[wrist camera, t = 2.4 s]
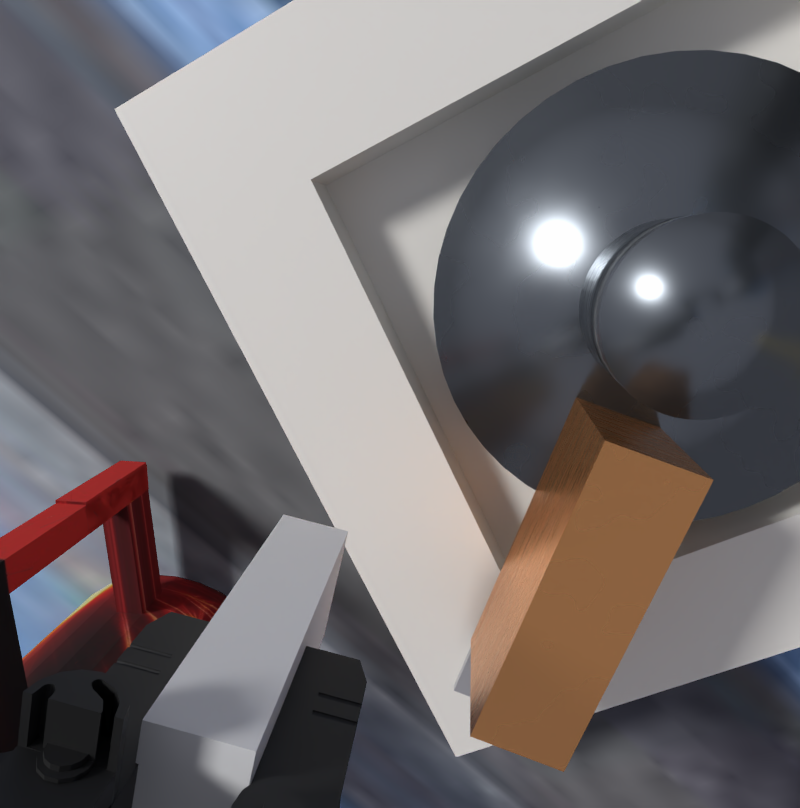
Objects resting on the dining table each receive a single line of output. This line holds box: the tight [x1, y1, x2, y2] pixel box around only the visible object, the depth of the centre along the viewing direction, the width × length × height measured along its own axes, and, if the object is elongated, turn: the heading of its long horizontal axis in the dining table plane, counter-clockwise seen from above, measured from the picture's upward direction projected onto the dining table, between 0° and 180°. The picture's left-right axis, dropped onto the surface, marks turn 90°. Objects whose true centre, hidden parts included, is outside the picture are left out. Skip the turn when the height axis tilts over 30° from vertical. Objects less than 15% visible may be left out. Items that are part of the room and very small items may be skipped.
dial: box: [433, 50, 800, 772], centre depth 16 cm, size 17×12×6 cm
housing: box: [115, 0, 800, 757], centre depth 17 cm, size 22×22×9 cm
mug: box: [0, 461, 227, 753], centre depth 20 cm, size 10×14×12 cm
